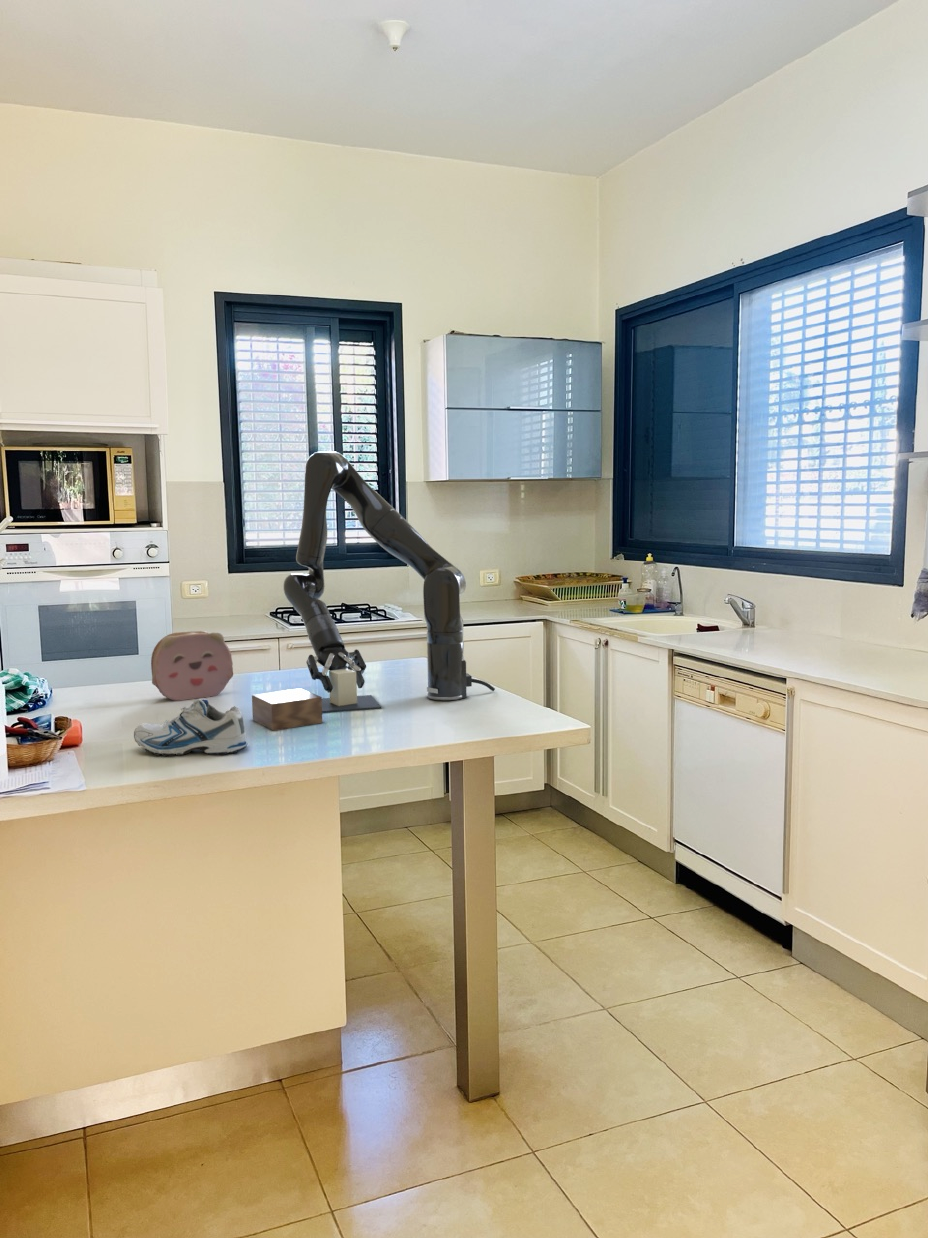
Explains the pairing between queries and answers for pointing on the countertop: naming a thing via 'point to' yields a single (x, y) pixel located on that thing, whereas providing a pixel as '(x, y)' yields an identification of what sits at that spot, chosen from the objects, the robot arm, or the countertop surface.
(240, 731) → the athletic shoe
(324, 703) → the rubber mat
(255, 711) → the brown box
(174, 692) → the face sculpture
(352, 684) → the cream box
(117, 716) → the countertop surface
